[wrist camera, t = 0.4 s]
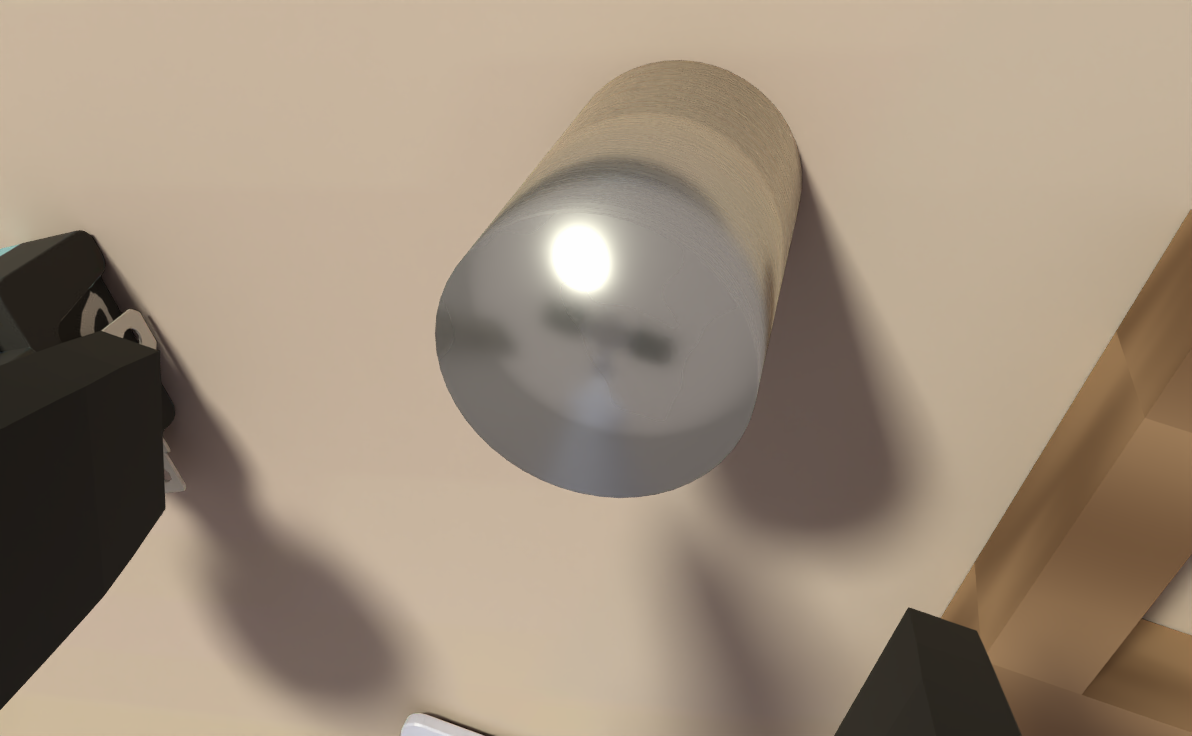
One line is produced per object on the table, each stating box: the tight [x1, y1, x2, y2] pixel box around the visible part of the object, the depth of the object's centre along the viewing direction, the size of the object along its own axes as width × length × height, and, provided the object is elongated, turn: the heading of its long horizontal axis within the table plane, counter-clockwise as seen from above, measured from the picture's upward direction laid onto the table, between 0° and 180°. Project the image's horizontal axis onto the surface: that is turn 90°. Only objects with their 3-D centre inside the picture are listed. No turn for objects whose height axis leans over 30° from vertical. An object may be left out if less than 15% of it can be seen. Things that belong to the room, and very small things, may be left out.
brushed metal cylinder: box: [435, 60, 802, 498], centre depth 15 cm, size 4×4×6 cm
